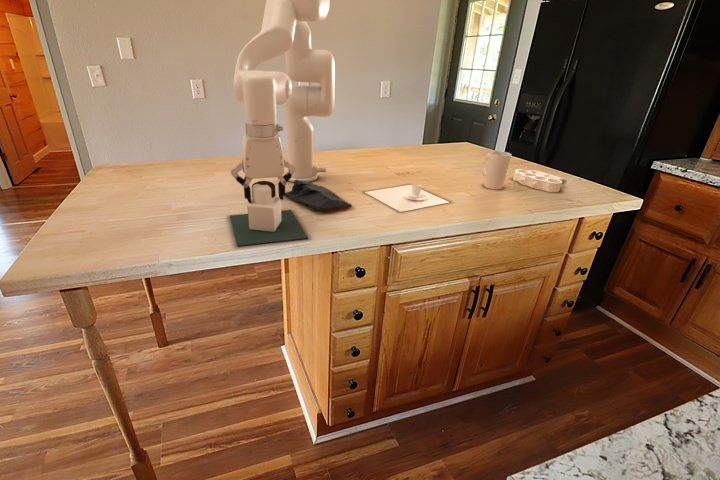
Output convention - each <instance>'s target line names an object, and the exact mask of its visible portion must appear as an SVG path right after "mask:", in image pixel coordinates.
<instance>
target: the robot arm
mask: <svg viewBox="0 0 720 480" xmlns="http://www.w3.org/2000/svg"><path fill="white" fill-rule="evenodd" d="M330 3H331V0H265V6H264V11H263V18H262V22H261V29H260V32H258V33H257V34H256V35H255V36H253V38H251V39H250V40H249V41H248V42H247V43H246V44H245V45H244V47H243V48H242V49H241V50H240V52H239V54H238V56H237V59H236V64H235V69H234V74H233V75H234V76H233V83H232V85H233V87H232V89H233V94H234V96H235V98H236V99H237V100H238V101H239V102H241V103H243V110H244V111H243V112H244V125H245V135H243V136H242V141H241V159H242V160H241V161H240V162H239V163H238V164H236V166H234V167H233V168H231V169H230V171H229V172H230V175H231V176H232V177H233V178H234V179H235V180H236V182H237V183H238V184H240V185H241V186H242V187H243V192H244V193H243V195H244V199H245V200H247V203H248V204H249V203H251V201H252V190H251V187H250V184H251V182H252V180H253V179H270V178H277V179H278V180H279V181H278V183H277V188H278V189H277V190H278V192H277V193H278V197H279V198H280V199H281V201H284V196H285V193H286V185H287V183H288V182H291V183H294V181H295V180H300V181H306V182H310V183H311V182H314V181H316V180H317V179H318V173H326V172H327V167H326V166H320V165H318V166H316V165H314V135H315V134H314V133H315V132H314V126H313V125H312V123H311V122H310V120H309V118H308V117H319V118H320V117H322V118H323V117H324V118H325V117H326V118H327V117H330V116H332V114H333V113H334V110H335V103H336V102H335V101H336V100H335V99H336V98H335V97H336V96H335V95H336V92H335V91H336V90H335V89H336V67H335V66H336V64H335V58H334V55H333V53H332V52H331V51H330V50H327V49H313V47H312V31H311V28H310V26H309V24H308V22H322V21H325V19H326V18H327V16H328V14H329V10H330ZM283 54H284V61H285V63H284V65H285V72H286V73H285V72H283V71H279V70H278V71H276V70H255V69H256V68H257V67H258V66H259V65H261V64H262V63H265V62H266V61H269V60H272V59H274V58H276V57H279V56H281V55H283ZM292 82H296V83H314V84H315V83H316V84H317V83H318V84H319V86H318V85H301V84H299V85H293V83H292ZM281 105H283V109H284V114H285V121H286V157H287V159H286V160H285V159H284V151H283V145H282V140H281V135H280V134H279V132H281V131H284V125H283V124H279V123H278V119H277V118H278V117H277V116H278V115H277V106H281ZM285 168H287V171H286V172H285ZM241 171H242V172H243V174H244V178H243V177H241V175H239V173H240V172H241ZM285 197H286V196H285Z"/></svg>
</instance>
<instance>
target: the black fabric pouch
mask: <svg viewBox="0 0 720 480" xmlns="http://www.w3.org/2000/svg"><path fill="white" fill-rule="evenodd" d="M285 197H288V198H289V199H291V200H292V201H294V202H296V203H298V204H302V205H303V206H305V207H307V208H309V209H311V210H313V211H315V212H324V211H331V210H345V209H349V208H352V207H353V205H352V204H351V203H349V202H347V201H345V200H344V199H342V198H341V197H340V196H339V195H337V194H336V193H335V192H333V191H332V190H330V189H328V188H327V187H325V186H323V185H319V184H314V183H313V182H311V181H310V182H306V181H300V180H295V181H294V182H293V186H292V188H291V190H290V191H285Z"/></svg>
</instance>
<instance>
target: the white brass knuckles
mask: <svg viewBox="0 0 720 480" xmlns="http://www.w3.org/2000/svg"><path fill="white" fill-rule="evenodd" d="M512 180H513V181H515V182H518V183H519V184H520V185H523V186H526V187H529V188H531V189H536V190H541V191H545V192H547V193H559V192H560V190H561V188H562V187H563V186H565V185H566V184H567V183H568V180H567V179H566V178H565V177H560V176H556V175H554V174H552V173H547V172H543V171H540V170H539V169H538V170H537V169H536V170H528V169H515V171H514V173H513V176H512Z"/></svg>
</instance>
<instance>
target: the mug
mask: <svg viewBox="0 0 720 480" xmlns="http://www.w3.org/2000/svg"><path fill="white" fill-rule="evenodd" d="M511 159H512V153H510V152H508V151H501V150H494V151H491V152H487V153H486V156H485V157H484V158H483V161H482V165H481V166H482V176H483V177H484V184H483V186H484V188H487V189H490V190H501V189H503V187H504V183H505V180H506V177H507V172H508V169H509V166H510V163H511ZM487 161H488V162H487ZM487 163H488V164H487ZM486 165H487V166H486ZM486 167H487V168H486Z"/></svg>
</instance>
